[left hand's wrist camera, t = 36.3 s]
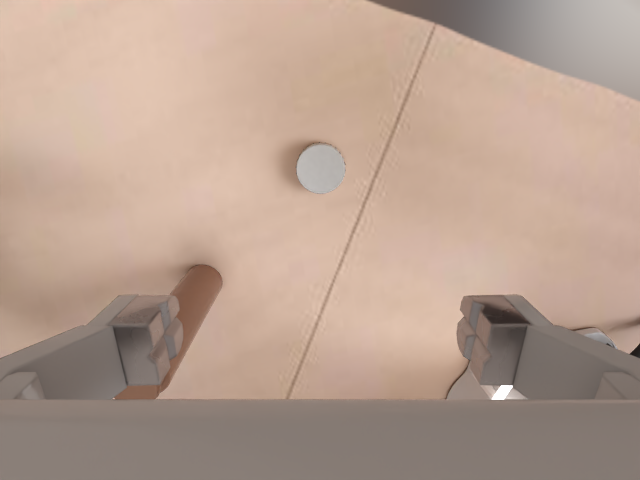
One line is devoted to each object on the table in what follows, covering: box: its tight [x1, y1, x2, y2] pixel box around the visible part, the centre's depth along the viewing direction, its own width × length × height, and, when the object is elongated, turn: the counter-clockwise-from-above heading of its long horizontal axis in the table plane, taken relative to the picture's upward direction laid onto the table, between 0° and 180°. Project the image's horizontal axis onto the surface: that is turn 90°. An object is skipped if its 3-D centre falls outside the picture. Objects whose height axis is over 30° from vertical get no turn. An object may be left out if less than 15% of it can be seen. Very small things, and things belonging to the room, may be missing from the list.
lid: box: [296, 142, 346, 194], centre depth 36 cm, size 5×5×2 cm
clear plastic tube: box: [114, 265, 222, 399], centre depth 33 cm, size 4×4×17 cm
